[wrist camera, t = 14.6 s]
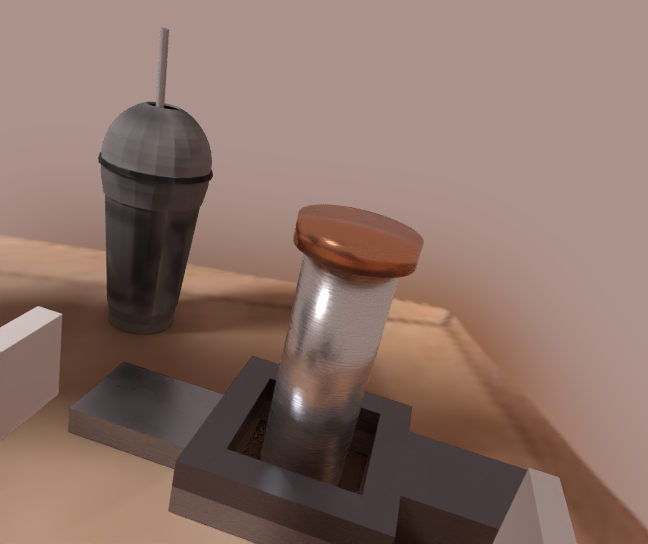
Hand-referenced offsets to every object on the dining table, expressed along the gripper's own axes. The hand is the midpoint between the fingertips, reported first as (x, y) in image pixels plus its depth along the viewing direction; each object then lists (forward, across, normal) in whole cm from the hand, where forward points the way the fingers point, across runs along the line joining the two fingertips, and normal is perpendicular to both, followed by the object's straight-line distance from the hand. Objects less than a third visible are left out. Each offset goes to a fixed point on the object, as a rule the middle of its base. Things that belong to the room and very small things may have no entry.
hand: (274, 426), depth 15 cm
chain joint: (+11, 0, -11) cm, 16 cm away
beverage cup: (+21, -15, -12) cm, 28 cm away
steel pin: (+11, 0, -11) cm, 16 cm away
